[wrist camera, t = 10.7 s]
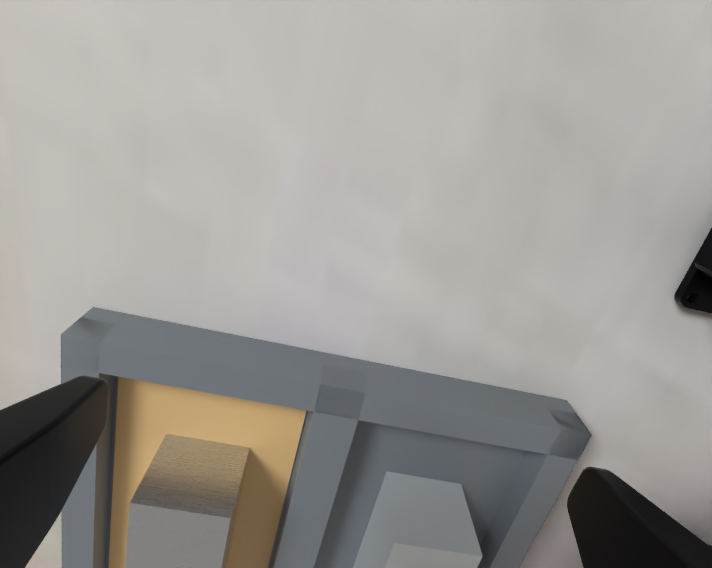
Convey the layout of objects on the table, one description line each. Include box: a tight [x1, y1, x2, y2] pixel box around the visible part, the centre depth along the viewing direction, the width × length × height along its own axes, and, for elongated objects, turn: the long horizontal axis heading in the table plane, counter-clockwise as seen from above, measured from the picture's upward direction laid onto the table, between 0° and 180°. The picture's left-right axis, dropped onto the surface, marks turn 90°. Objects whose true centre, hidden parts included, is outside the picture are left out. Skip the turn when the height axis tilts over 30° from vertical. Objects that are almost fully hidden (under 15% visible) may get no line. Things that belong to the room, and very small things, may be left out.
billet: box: [125, 434, 250, 568], centre depth 22 cm, size 4×10×4 cm, turn 166°
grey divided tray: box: [61, 307, 591, 568], centre depth 23 cm, size 23×21×5 cm
